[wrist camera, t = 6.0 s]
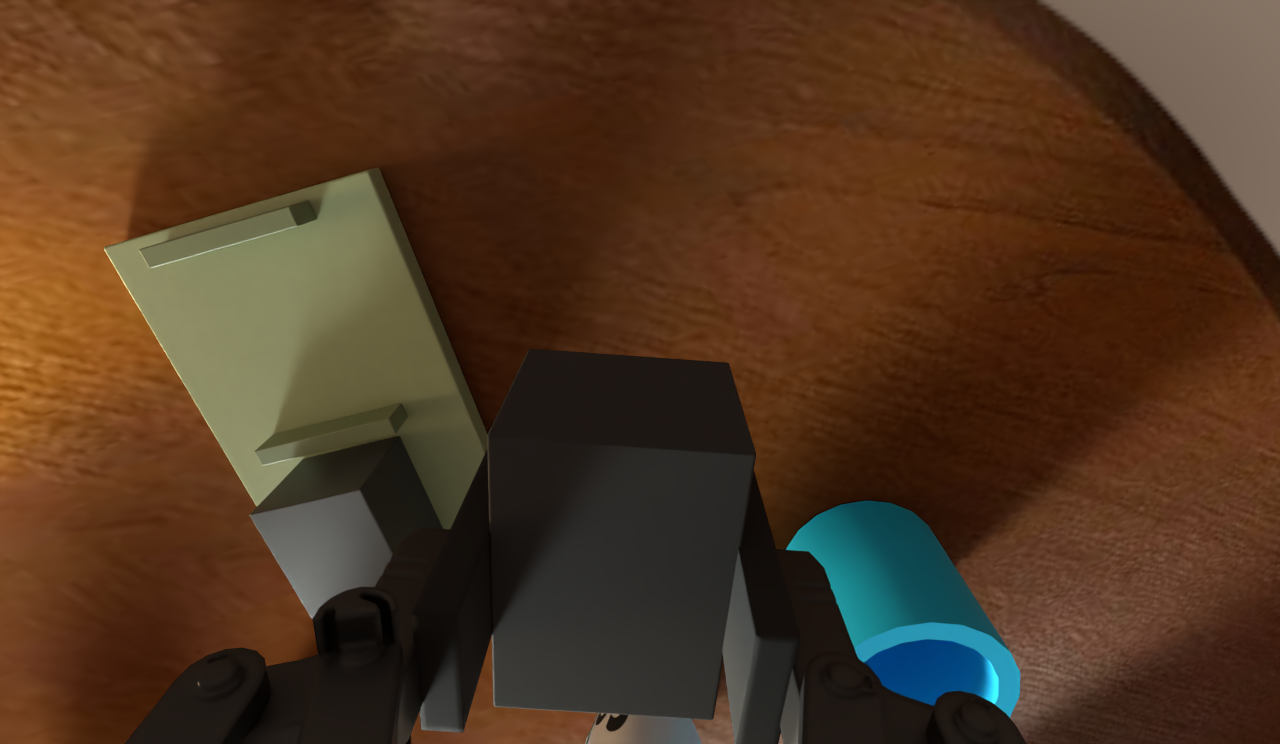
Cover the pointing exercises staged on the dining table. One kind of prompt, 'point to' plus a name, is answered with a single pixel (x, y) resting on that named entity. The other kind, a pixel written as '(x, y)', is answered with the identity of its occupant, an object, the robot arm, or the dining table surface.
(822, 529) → the mug
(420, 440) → the dock
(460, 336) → the dining table surface
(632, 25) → the dining table surface
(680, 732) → the cup
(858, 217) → the dining table surface
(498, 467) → the dark grey block
